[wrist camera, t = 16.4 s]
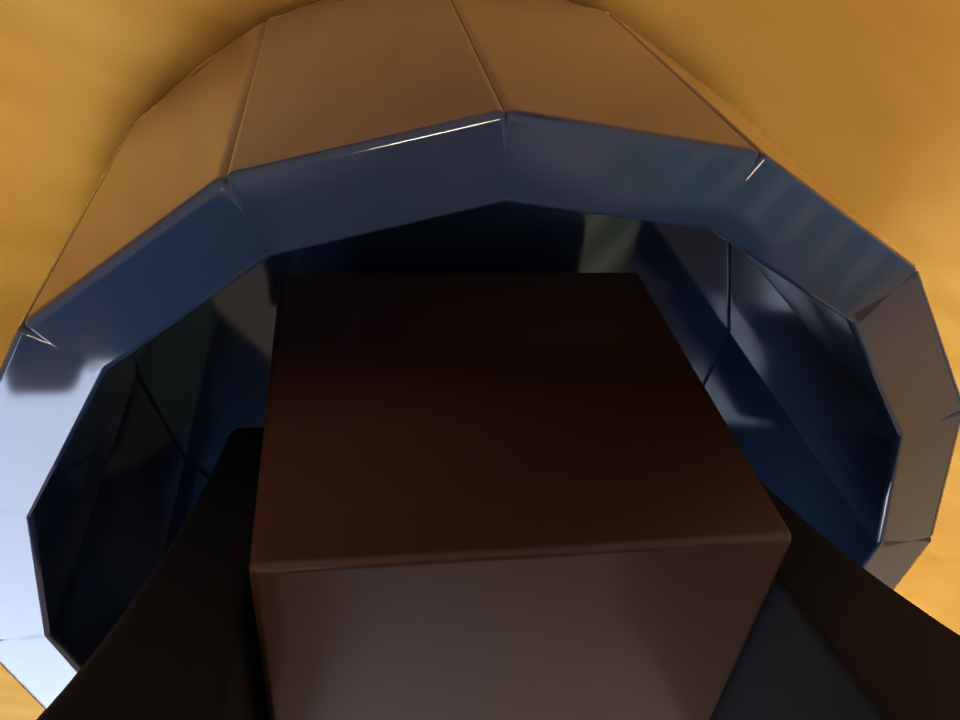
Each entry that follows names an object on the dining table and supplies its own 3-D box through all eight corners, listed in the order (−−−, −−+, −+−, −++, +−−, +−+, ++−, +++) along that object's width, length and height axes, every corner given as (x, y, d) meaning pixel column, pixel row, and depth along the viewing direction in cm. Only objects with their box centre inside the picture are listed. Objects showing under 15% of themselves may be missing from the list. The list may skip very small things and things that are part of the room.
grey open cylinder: (240, 607, 18) (208, 879, 13) (-76, 89, 11) (-356, 311, 6) (755, 486, 18) (889, 718, 13) (779, -110, 11) (1076, -23, 6)
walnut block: (298, 528, 14) (284, 843, 10) (279, 271, 11) (247, 570, 7) (584, 513, 14) (679, 798, 10) (638, 269, 12) (797, 537, 8)
